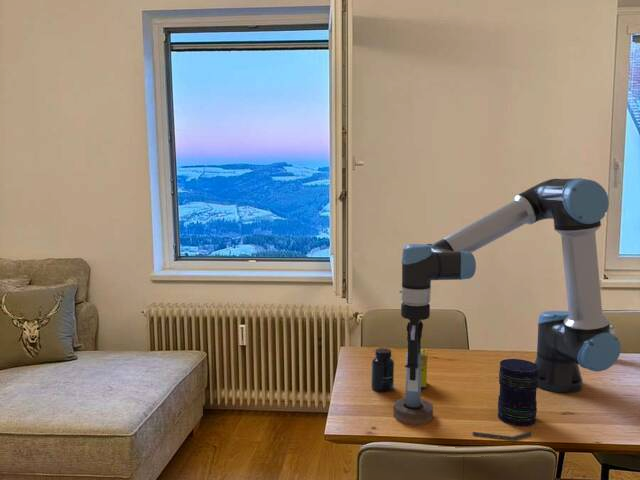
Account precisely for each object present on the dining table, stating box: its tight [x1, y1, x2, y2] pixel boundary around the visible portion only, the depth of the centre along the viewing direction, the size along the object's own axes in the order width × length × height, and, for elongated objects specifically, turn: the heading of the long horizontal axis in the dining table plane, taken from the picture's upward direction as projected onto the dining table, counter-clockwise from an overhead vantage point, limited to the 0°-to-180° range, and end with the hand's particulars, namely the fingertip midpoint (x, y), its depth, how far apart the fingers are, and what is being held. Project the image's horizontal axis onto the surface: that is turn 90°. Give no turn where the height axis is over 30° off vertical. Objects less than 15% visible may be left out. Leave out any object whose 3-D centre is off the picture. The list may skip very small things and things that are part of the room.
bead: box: [393, 397, 434, 426], centre depth 144 cm, size 10×10×3 cm
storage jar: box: [497, 358, 539, 428], centre depth 142 cm, size 10×10×15 cm
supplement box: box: [420, 348, 428, 390], centre depth 165 cm, size 6×6×11 cm
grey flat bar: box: [472, 431, 533, 441], centre depth 133 cm, size 14×4×1 cm, turn 75°
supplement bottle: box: [370, 347, 395, 393], centre depth 162 cm, size 7×7×12 cm
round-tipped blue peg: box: [405, 348, 422, 407], centre depth 142 cm, size 4×4×16 cm
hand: (413, 387), depth 143 cm, fingers closed on round-tipped blue peg, 4 cm apart
